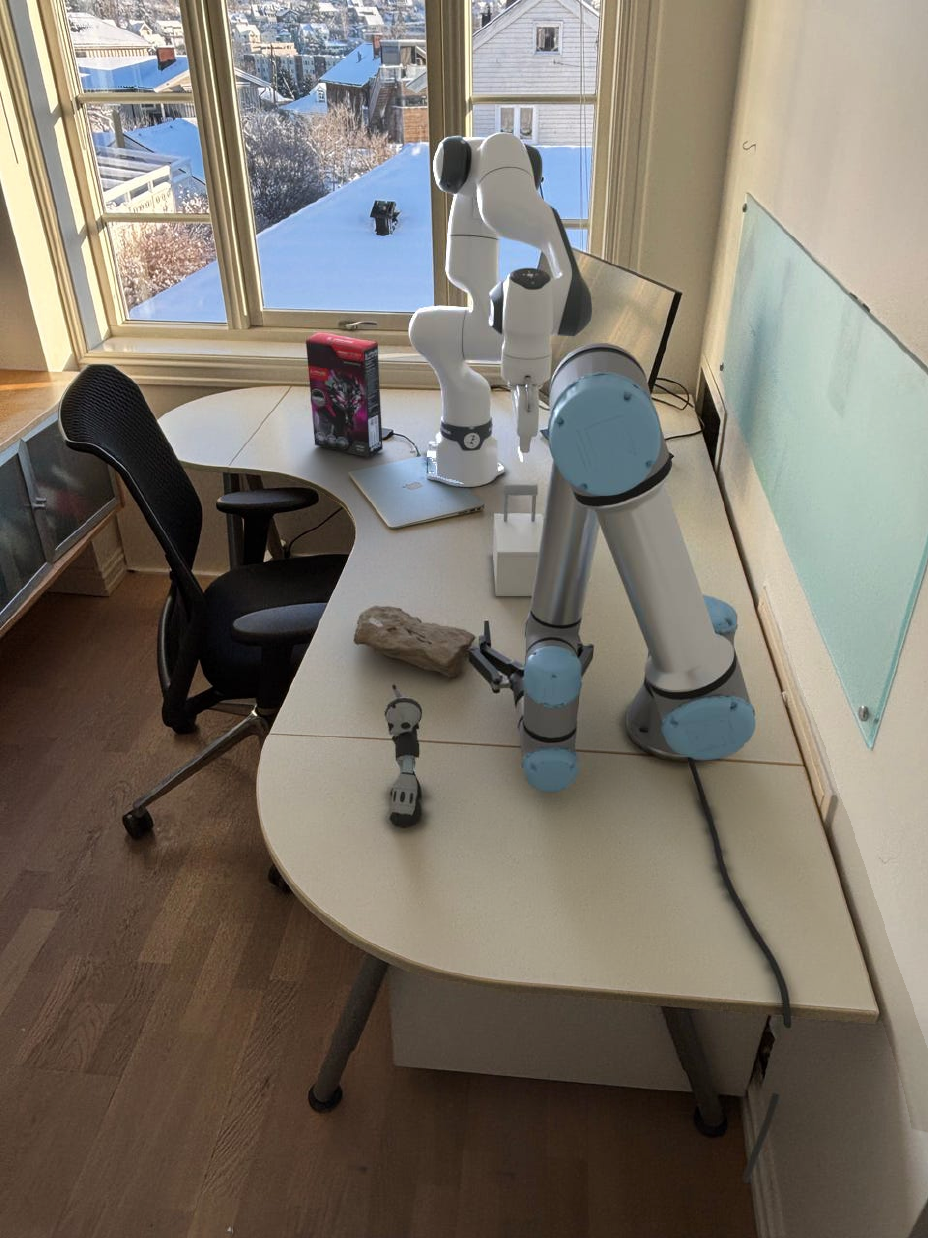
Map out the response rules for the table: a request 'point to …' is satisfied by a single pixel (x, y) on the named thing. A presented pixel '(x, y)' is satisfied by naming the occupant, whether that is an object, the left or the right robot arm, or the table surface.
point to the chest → (513, 573)
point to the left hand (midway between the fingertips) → (522, 440)
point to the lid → (518, 525)
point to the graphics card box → (345, 393)
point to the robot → (405, 758)
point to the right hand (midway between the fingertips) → (526, 626)
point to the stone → (413, 639)
